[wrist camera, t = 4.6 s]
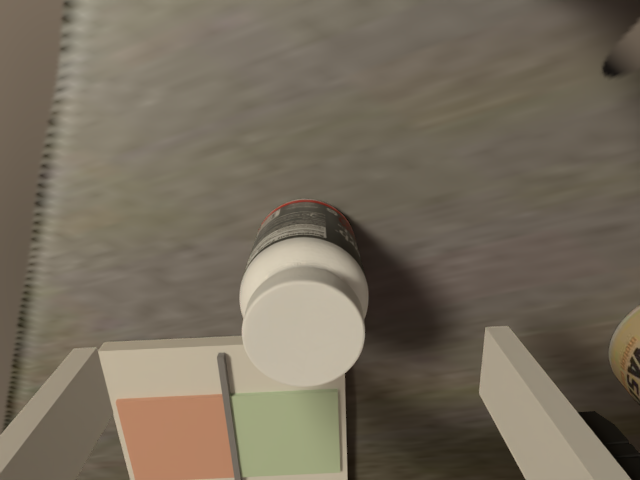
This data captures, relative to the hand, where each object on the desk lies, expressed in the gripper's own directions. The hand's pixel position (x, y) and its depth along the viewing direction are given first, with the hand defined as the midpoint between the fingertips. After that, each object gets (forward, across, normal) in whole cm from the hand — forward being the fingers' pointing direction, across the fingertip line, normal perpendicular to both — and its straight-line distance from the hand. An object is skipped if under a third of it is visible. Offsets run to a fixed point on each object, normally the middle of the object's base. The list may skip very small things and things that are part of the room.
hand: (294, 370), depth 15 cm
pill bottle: (+12, 0, 0) cm, 12 cm away
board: (+12, -5, -13) cm, 18 cm away
